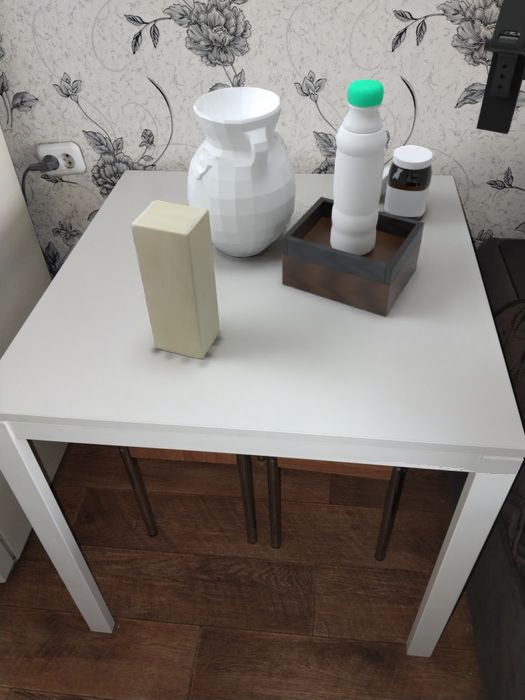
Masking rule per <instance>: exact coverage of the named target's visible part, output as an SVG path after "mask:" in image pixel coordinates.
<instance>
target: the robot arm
mask: <svg viewBox="0 0 525 700" xmlns="http://www.w3.org/2000/svg"><path fill="white" fill-rule="evenodd" d="M509 33H517V35H516V34H509ZM518 34H519V35H518ZM483 51H484V52H489V53H492V56H491V60H490V65H489V70H488V74H487V78H486V83H485V87H484V92H483V96H482V100H481V105H480V110H479V114H478V118H477V122H476V130H481V131H487V132H491V133H492V132H493V133H498V134H504V135H508V134H509V133H510V129H511V126H512V122H513V118H514V115H515V110H516V107H517V103H518V99H519V96H520V91H521V88H522V84H523V82H524V81H525V0H502V3H501V5H500V9H499V12H498V16H497V19H496V22H495V25H494V29H493V33H492V36H491V37H490V39H489V38H485V41H484V45H483Z"/></svg>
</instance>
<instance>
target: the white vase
mask: <svg viewBox="0 0 525 700" xmlns="http://www.w3.org/2000/svg"><path fill="white" fill-rule="evenodd" d="M192 108H193V111H194V114H195V117H196V119H197V121H198V123H199V125H200V128H201V130H202V131H203V134H204V137H205V139H204V140H203V142H202V143H201V144H200V145H199V146H198V148H197V150H195V153H194V154H193V157H192V158H191V160H190V163H189V166H188V167H189V168H188V173H187V179H186V180H187V181H186V189H187V190H186V192H187V193H186V194H187V197H186V198H187V204H188V206H194V207H200V208H205V209H208V211H209V218H210V229H211V239H212V245H214V246H215V247H216V248H217V249H218V250H220V252H222V253H224V254H225V255H228V256H231V257H234V258H235V257H236V258H247V257H254V256H256V255H259V254H260V253H262V252H264V251H266V249H267V248H268V247H269V246H270V245H271V244H272V243H274V242H275V241H276V240H277V239H278V237H279V236H280V235H281V234H282V233H283V231H284V230H285V229H286V227H287V226H288V225H289V224H290V222H291V220H292V218H293V215H294V211H295V205H296V191H297V190H296V187H297V183H296V178H295V177H296V176H295V169H294V167H293V164H292V162H291V159H290V158H289V155H288V153H287V150H288V145H287V143H286V141H285V140H284V138H283V136H282V135H281V133H279V131H275V129H276V127H277V124H278V121H279V119H280V117H281V112H282V99H281V98H280V96H278V94H276V93H275V92H274V91H271V90H268V89H266V88H261V87H256V86H233V87H231V86H230V87H223V88H218V89H215V90H212V91H209V92H207V93H205V94H202V95H200V97H198V98H197V99H196V100H195V102H194V104H193V106H192Z"/></svg>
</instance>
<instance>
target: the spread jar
mask: <svg viewBox="0 0 525 700" xmlns="http://www.w3.org/2000/svg"><path fill="white" fill-rule="evenodd" d="M433 157H434V154H433V152H432V151H431V150H430V149H429V148H427V147H424V146H421V145H417V144H416V145H415V144H405V145H401V146H398V147H396V148H395V149H394V150H393V154H392V162H391V164H390V165H387V166H385V167H384V170H383V179H382V187H381V194H380V198H381V197H382V196H383V195H384V194H385V196H384V203H383V204H384V206H383V212H385V213H389V214H393V215H397V216H401V217H405V218H409V219H413V220H417V221H418V220H419V219H421V218H422V217H424V214H425V212H426V209H427V203H428V198H429V193H430V188H431V181H432V175H433V165H432V162H433Z"/></svg>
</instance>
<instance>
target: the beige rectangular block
mask: <svg viewBox="0 0 525 700" xmlns="http://www.w3.org/2000/svg"><path fill="white" fill-rule="evenodd" d="M130 228H131V234H132V239H133V244H134V249H135V254H136V259H137V263H138V268H139V273H140V274H139V275H140V278H141V284H142V289H143V294H144V298H145V305H146V308H147V313H148V318H149V324H150V328H151V329H150V330H151V334H152V338H153V343H154V344H153V345H154V347H155V348H156V349H159V350H161V351H166V352H169V353H174V354H178V355H182V356H186V357H191V358H194V359H199V360H203V359H204V358H205V357H206V355H207V354H208V352H209V350H210V349H211V347H212V345H214V342H215V341H216V339H217V337H218V335H219V334H220V332H221V329H220V315H219V303H218V295H217V285H216V274H215V273H216V272H215V264H214V252H213V244H212V239H211V229H210V218H209V211H208V209H205V208H200V207H194V206H189V204H188V205H187V204H183V203H177V202H170V201H165V200H159V199H154V200H152V202H151V203H150V204H149V205H148V206H147V207H146V208H145V209H144V210H143V211H142V212H141V213H140V214H139V215H138V216H137V217H136V218H135V219H134V221H133V222H132V223H131V225H130Z"/></svg>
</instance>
